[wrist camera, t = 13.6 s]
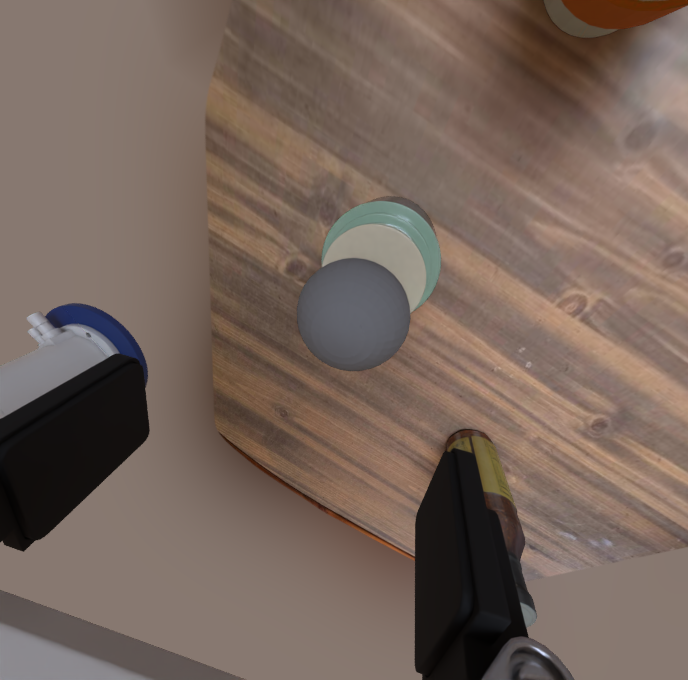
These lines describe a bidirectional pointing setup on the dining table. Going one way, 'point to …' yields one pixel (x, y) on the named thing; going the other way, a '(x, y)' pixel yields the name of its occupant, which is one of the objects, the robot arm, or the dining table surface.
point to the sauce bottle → (499, 506)
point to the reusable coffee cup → (606, 14)
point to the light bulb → (353, 314)
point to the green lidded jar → (390, 243)
